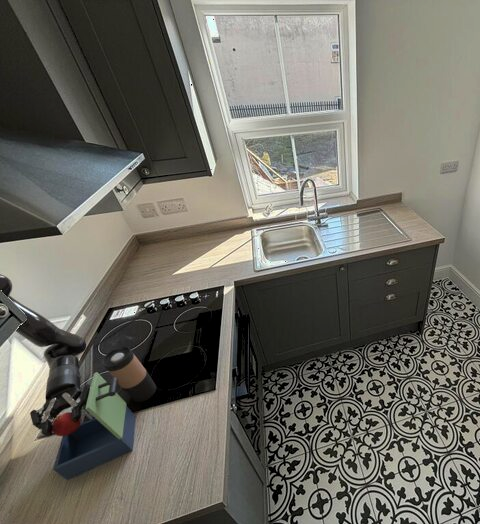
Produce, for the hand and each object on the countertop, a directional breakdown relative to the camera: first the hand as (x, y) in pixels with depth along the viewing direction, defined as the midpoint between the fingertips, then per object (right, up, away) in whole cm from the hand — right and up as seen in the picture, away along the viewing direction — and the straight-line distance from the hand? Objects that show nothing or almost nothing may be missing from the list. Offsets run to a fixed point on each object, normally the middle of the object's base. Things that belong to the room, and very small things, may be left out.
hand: (61, 427), depth 79 cm
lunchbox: (+4, -10, +9) cm, 14 cm away
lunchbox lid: (+10, +4, +2) cm, 11 cm away
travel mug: (+7, -1, +23) cm, 24 cm away
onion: (-1, -4, +5) cm, 7 cm away
